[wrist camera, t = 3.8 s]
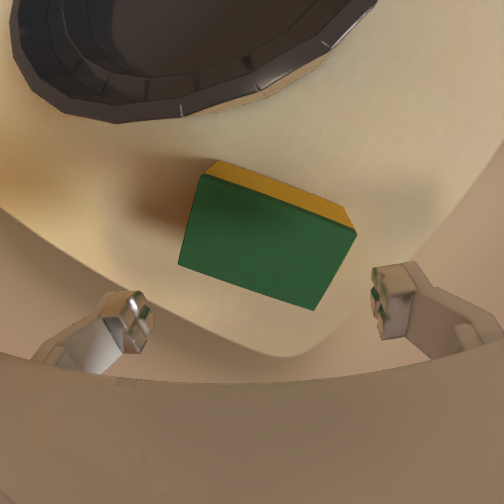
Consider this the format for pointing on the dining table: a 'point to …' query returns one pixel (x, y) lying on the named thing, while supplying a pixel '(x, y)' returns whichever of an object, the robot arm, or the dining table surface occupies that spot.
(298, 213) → the sponge
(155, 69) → the bowl
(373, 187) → the dining table surface
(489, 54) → the dining table surface
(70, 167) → the dining table surface
